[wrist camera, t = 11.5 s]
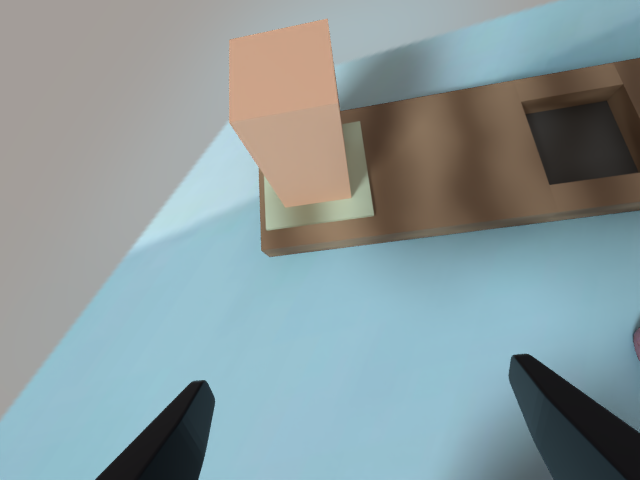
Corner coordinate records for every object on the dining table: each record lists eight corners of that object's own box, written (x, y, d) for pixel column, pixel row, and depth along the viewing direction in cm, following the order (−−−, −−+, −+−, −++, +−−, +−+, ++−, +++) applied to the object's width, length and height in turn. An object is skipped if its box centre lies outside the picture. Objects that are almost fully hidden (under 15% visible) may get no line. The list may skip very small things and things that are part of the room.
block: (344, 140, 25) (327, 18, 15) (351, 198, 23) (338, 102, 14) (282, 150, 25) (229, 39, 16) (285, 207, 24) (229, 122, 14)
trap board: (629, 77, 25) (653, 52, 23) (690, 203, 22) (726, 189, 20) (265, 139, 29) (256, 123, 27) (269, 256, 25) (260, 249, 23)
